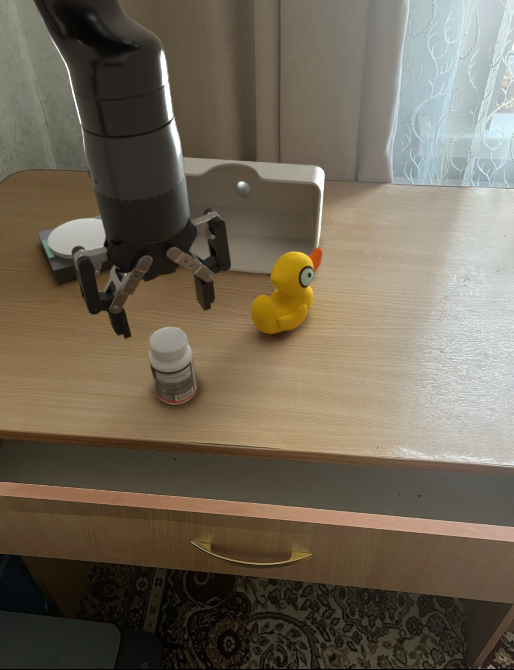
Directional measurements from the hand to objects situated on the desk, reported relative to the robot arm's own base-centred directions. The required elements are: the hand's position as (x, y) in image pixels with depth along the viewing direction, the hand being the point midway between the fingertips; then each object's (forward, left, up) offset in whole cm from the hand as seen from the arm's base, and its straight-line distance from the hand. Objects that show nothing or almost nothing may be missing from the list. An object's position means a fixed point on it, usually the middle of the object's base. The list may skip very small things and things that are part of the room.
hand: (166, 319), depth 56 cm
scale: (-2, +32, -11) cm, 34 cm away
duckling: (+17, +4, -12) cm, 21 cm away
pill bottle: (0, 0, -12) cm, 12 cm away
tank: (+20, +24, -12) cm, 33 cm away
